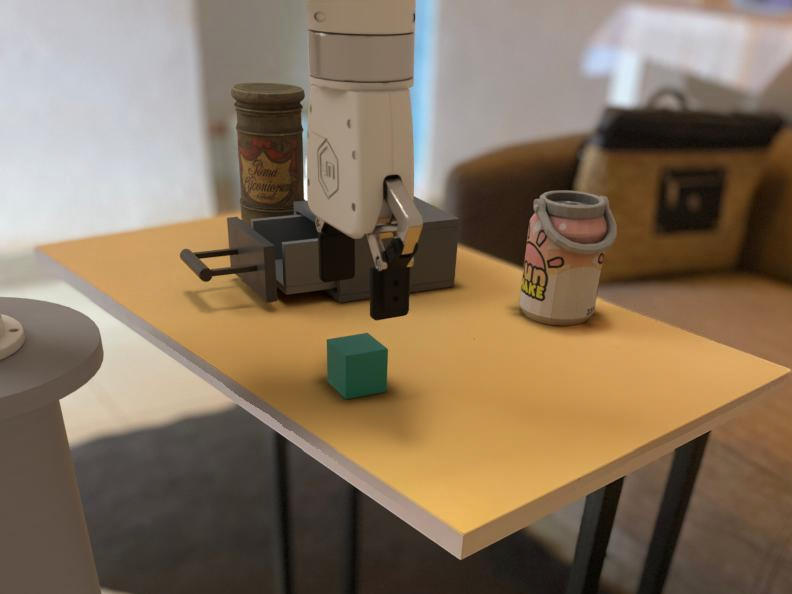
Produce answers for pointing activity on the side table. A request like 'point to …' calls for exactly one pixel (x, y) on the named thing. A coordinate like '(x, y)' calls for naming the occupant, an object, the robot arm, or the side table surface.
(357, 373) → the block
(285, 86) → the container
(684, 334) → the side table surface
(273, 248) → the tray
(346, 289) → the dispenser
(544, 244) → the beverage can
